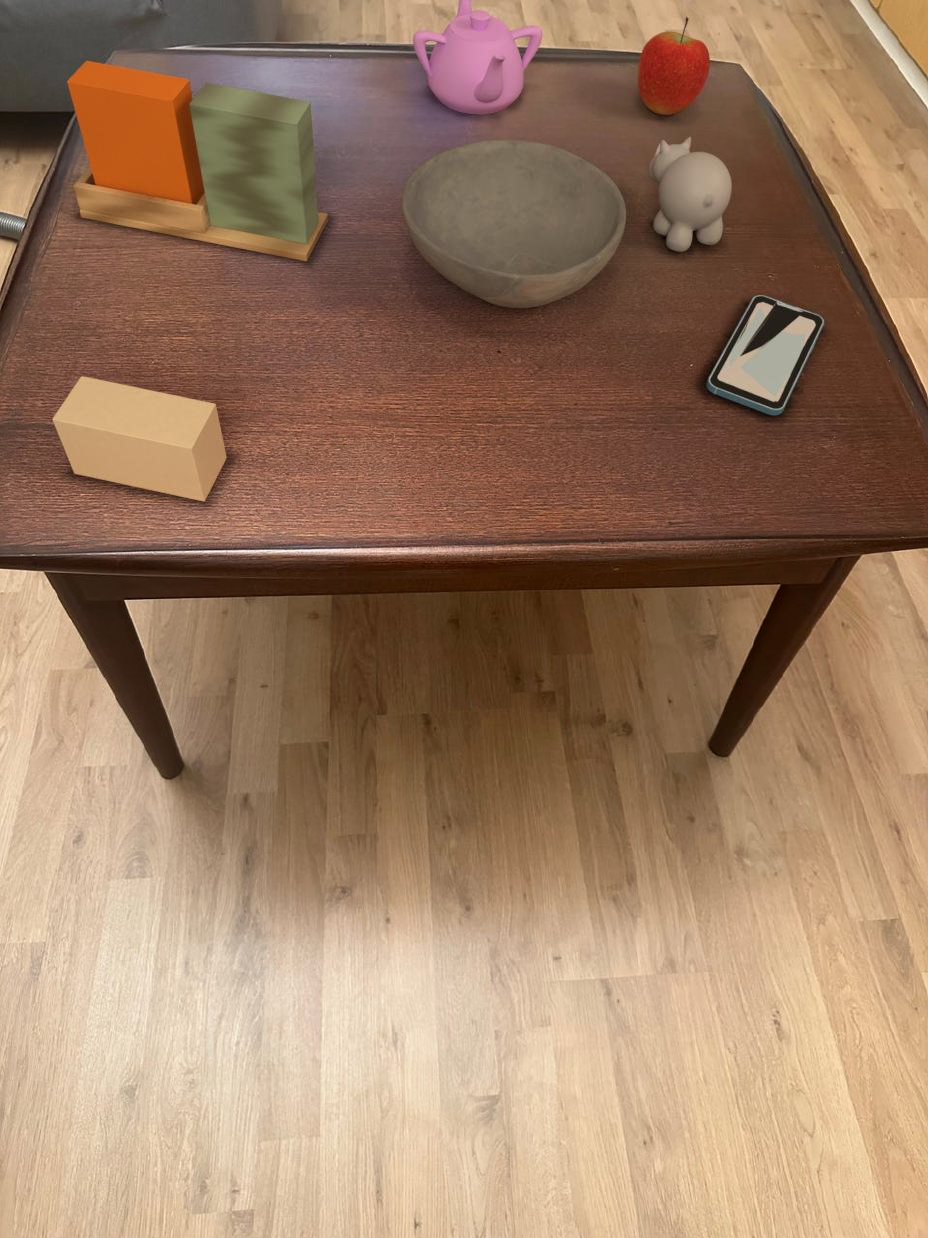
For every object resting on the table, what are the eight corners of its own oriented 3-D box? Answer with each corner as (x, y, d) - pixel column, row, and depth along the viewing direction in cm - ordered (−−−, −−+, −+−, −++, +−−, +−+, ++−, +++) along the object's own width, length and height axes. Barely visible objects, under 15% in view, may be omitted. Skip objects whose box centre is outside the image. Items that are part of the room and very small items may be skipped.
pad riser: (74, 473, 76) (51, 419, 71) (100, 431, 78) (81, 375, 73) (204, 502, 75) (191, 448, 70) (227, 457, 78) (215, 403, 73)
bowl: (654, 304, 92) (675, 231, 86) (475, 371, 85) (482, 297, 79) (534, 192, 102) (544, 118, 95) (364, 244, 95) (362, 168, 88)
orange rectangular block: (100, 204, 95) (66, 80, 85) (117, 182, 97) (86, 59, 87) (195, 222, 94) (172, 100, 84) (210, 200, 96) (189, 78, 86)
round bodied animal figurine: (679, 186, 104) (700, 109, 97) (728, 250, 98) (754, 173, 91) (620, 194, 103) (637, 116, 96) (665, 260, 97) (687, 182, 90)
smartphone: (704, 383, 85) (755, 291, 93) (701, 391, 86) (752, 299, 94) (782, 413, 84) (827, 317, 91) (778, 421, 84) (824, 325, 92)
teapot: (458, 56, 118) (463, -23, 110) (551, 96, 114) (562, 16, 106) (400, 92, 112) (400, 11, 104) (495, 135, 108) (503, 54, 101)
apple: (618, 112, 113) (635, 21, 104) (648, 85, 117) (668, -4, 108) (678, 135, 110) (701, 45, 102) (707, 107, 114) (731, 18, 106)
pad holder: (81, 217, 94) (41, 86, 84) (111, 178, 98) (77, 49, 88) (306, 261, 93) (296, 133, 82) (328, 220, 97) (320, 93, 86)
